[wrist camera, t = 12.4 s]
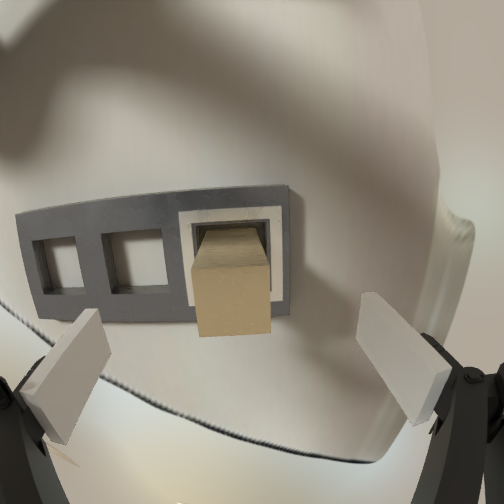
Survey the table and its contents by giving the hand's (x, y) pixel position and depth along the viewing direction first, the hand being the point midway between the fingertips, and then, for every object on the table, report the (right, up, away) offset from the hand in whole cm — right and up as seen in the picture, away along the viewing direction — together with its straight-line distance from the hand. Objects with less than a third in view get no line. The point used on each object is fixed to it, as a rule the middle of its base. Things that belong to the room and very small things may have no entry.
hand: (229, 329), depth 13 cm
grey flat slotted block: (-10, +3, +13) cm, 17 cm away
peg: (-1, +4, +14) cm, 14 cm away
